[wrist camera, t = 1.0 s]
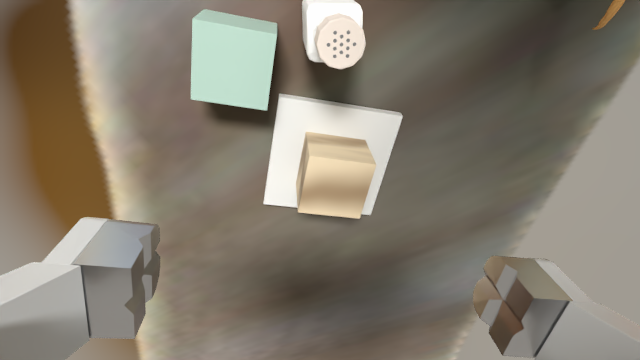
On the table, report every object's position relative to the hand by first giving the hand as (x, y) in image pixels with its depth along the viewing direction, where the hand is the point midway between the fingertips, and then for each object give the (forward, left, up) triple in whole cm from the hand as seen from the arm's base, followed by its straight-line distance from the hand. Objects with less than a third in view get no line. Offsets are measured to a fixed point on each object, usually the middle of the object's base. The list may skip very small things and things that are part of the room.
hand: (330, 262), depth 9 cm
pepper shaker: (-2, +2, -28) cm, 28 cm away
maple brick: (+11, +5, -27) cm, 29 cm away
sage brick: (+2, -5, -28) cm, 28 cm away
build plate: (+11, +5, -28) cm, 30 cm away
